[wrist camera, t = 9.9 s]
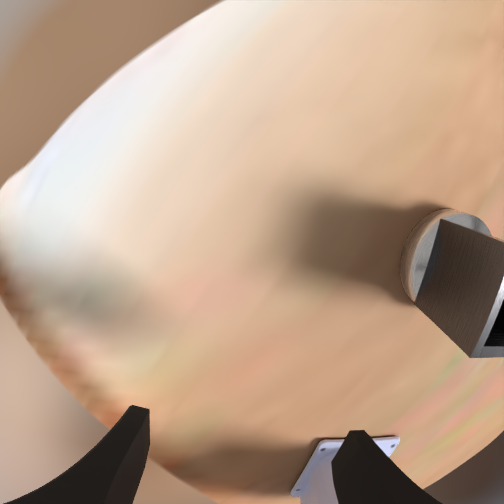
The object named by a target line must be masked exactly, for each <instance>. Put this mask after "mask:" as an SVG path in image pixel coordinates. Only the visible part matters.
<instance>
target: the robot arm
mask: <svg viewBox="0 0 504 504" xmlns="http://www.w3.org/2000/svg"><path fill="white" fill-rule="evenodd" d="M399 442H400V438H399V437H398V436H395V437H383V438H371V437H370V436H369V435H368V434H367V433H366V432H365V431H364V430H353V431H349V433H348V435H347V437H346V438H345V439H339V440H322V441H320V442H319V444H318V446H317V447H316V449H315V451H314V453H313V455H312V456H311V458H310V460H309V462H308V464H307V465H306V467H305V469H304V470H303V472H302V474H301V475H300V477H299V479H298V480H297V482H296V484H295V485H294V487H293V489H292V490H291V492H290V495H291V496H294V497H296V496H300V500H301V504H442V503H440V502H438V501H437V500H436V499H434V498H433V497H432V496H430V495H429V494H428V493H426V492H425V491H423V490H422V489H421V488H420V487H419V486H417V485H416V484H415V483H414V482H413V481H412V480H411V479H410V478H409V477H407V476H406V475H405V474H404V473H403V472H402V471H401V470H400V469H399V468H398V467H397V466H396V465H395V464H394V462H393V461H392V460H391V459H390V458H389V456H390V455H391V453H392V452H393V450H394V449H395V448H396V446H397V445H398V443H399ZM149 446H150V420H149V409H146V408H142V407H138V406H134V405H132V406H130V407H129V408H128V409H127V411H126V412H125V413H124V415H123V416H122V417H121V418H120V420H119V421H118V422H117V423H116V424H115V425H114V427H113V428H112V429H111V430H110V431H109V432H108V433H107V435H106V436H105V437H103V439H102V440H101V441H100V442H99V443H98V444H97V445H96V446H95V447H94V448H93V449H91V450H90V451H89V452H88V453H87V454H86V455H85V456H84V457H83V458H82V459H80V460H79V461H78V462H77V463H76V464H74V465H73V466H72V467H70V468H69V469H68V470H66V471H65V472H64V473H62V474H61V475H59V476H58V477H57V478H55V479H53V480H52V481H50V482H49V483H47V484H45V485H44V486H42V487H40V488H38V489H36V490H34V491H32V492H30V493H28V494H26V495H24V496H22V497H20V498H17V499H15V500H13V501H10V502H7V503H4V504H132V503H133V500H134V497H135V494H136V492H137V489H138V486H139V483H140V480H141V477H142V474H143V471H144V468H145V464H146V459H147V455H148V450H149Z"/></svg>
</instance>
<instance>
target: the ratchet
mask: <svg viewBox="0 0 504 504" xmlns="http://www.w3.org/2000/svg"><path fill="white" fill-rule="evenodd" d="M440 218H441V219H444V220H447V221H450V222H453V223H456V224H459V225H462V226H465V227H468V228H471V229H474V230H477V231H479V232H482V233H485V234H488V235H490V236H492V235H491V233H490V231H489V229H488V227H487V226H486V225H485V223H484V222H483V221H482V220H480V219H479V218H477V217H475V216H473V215H470V214H466V213H463V212H460V211H457V210H453V209H440V210H436V211H434V212H432V213H430V214H428V215H427V216H425V217H424V218H423V219H422V220H420V222H419V223H418V224H417V225H416V226H415V227H414V229H413V230H412V231H411V233H410V235H409V236H408V238H407V240H406V243H405V245H404V248H403V251H402V255H401V261H400V278H401V283H402V286H403V288H404V290H405V292H406V294H407V295H408V297H409V298H410V299H411V300H412V301H413V302H415V299H416V297H417V294H418V291H419V288H420V285H421V282H422V279H423V276H424V273H425V270H426V267H427V264H428V261H429V258H430V254H431V251H432V248H433V244H434V241H435V237H436V233H437V230H438V226H439V222H440Z"/></svg>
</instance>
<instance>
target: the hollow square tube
mask: <svg viewBox="0 0 504 504" xmlns="http://www.w3.org/2000/svg"><path fill="white" fill-rule="evenodd" d="M414 305H416V306H417V307H418V308H419V309H420V310H421V311H422V312H423V313H424V314H425V315H426V316H427V317H428V318H430V319H431V320H432V321H433V322H434V323H435V324H436V325H437V326H438V327H439V328H440V329H441V330H442V331H443V332H444V333H445V334H446V335H447V336H448V337H449V338H450V339H451V340H452V341H453V342H454V343H456V344H457V345H458V346H459V347H460V348H461V349H462V350H463V351H464V352H465V353H466V354H467V355H468V356H469V357H470V358H489V357H504V241H503V240H501V239H498V238H496V237H493V236H490V235H488V234H485V233H482V232H479V231H477V230H474V229H471V228H468V227H465V226H462V225H459V224H456V223H453V222H450V221H447V220H444V219H441V218H440V222H439V226H438V230H437V233H436V237H435V241H434V244H433V248H432V251H431V254H430V258H429V261H428V264H427V267H426V270H425V273H424V276H423V279H422V282H421V285H420V288H419V291H418V294H417V297H416V299H415V302H414Z"/></svg>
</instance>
